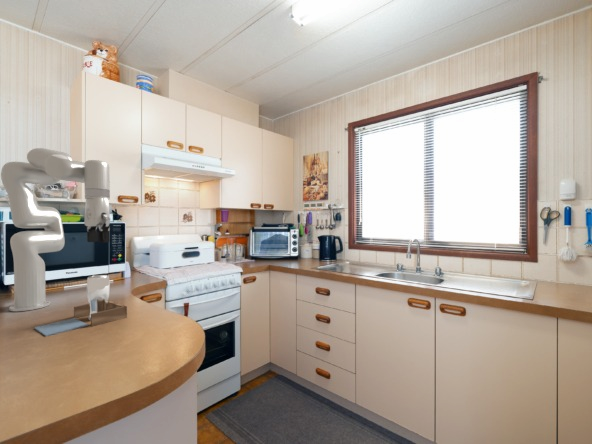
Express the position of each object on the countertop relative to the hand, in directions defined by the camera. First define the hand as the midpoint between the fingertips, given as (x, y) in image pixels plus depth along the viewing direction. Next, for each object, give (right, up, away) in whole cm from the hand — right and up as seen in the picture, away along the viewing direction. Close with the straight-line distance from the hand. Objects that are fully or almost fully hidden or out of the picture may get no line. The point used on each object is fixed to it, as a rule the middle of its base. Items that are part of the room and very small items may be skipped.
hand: (98, 242), depth 105 cm
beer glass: (0, -28, 0) cm, 28 cm away
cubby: (0, -28, 0) cm, 28 cm away
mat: (-6, -28, -9) cm, 30 cm away
